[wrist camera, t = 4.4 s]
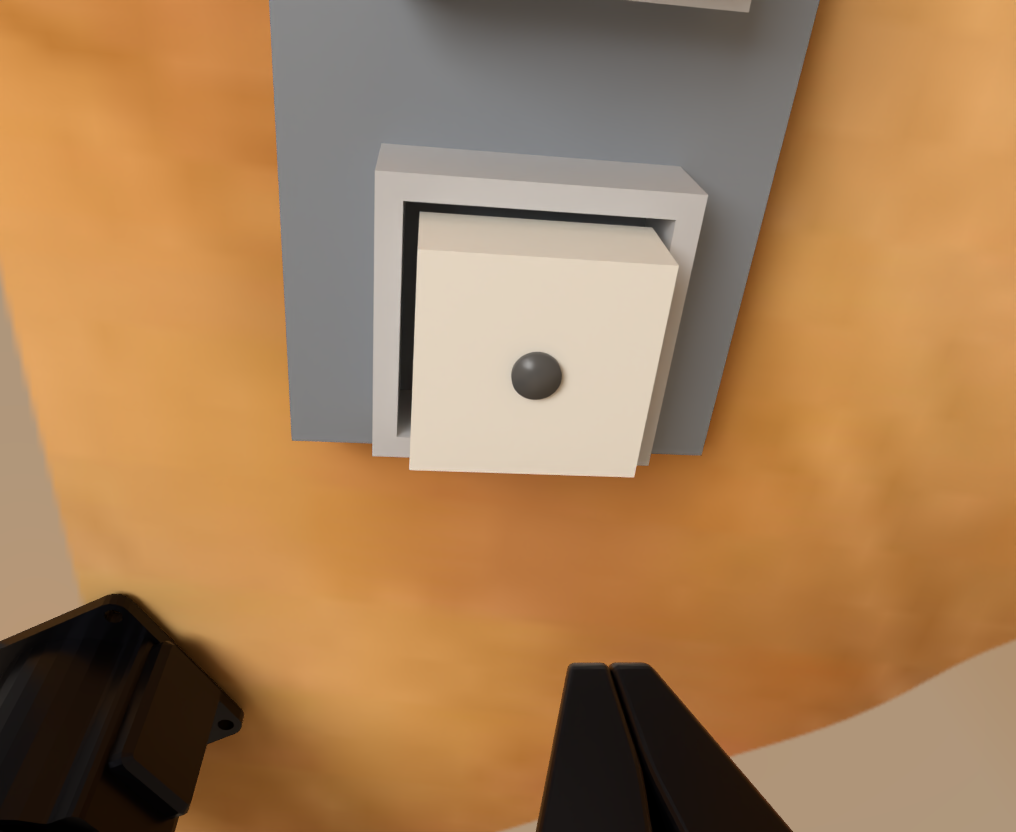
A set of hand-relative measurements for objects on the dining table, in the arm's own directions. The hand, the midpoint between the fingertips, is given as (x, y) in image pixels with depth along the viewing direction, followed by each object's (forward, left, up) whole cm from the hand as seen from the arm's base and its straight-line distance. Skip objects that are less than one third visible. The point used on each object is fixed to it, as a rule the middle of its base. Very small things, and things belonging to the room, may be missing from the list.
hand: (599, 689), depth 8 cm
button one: (0, 0, -9) cm, 9 cm away
